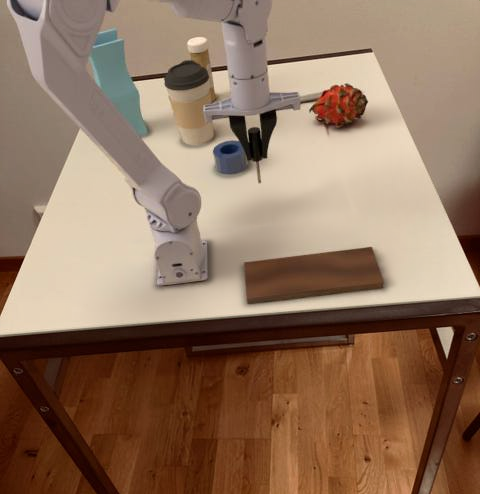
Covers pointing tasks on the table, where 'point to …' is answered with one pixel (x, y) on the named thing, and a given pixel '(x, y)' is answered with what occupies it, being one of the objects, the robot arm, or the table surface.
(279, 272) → the cutting board
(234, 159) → the utensil cup
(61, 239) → the table surface
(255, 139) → the screwdriver
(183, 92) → the coffee cup
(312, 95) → the chef's knife
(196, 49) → the sprinkles bottle
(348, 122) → the dragon fruit
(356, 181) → the table surface
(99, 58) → the vase
